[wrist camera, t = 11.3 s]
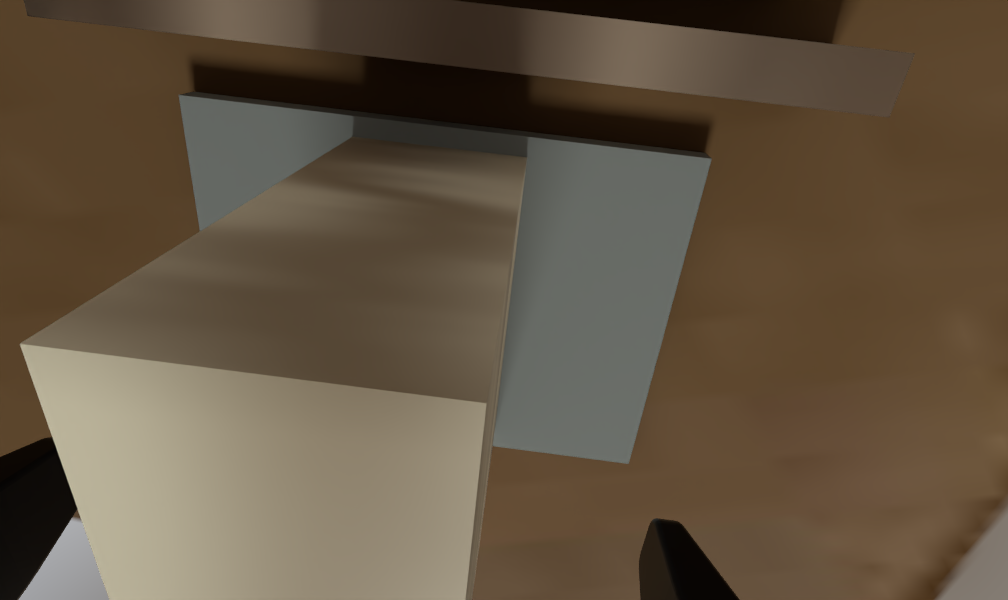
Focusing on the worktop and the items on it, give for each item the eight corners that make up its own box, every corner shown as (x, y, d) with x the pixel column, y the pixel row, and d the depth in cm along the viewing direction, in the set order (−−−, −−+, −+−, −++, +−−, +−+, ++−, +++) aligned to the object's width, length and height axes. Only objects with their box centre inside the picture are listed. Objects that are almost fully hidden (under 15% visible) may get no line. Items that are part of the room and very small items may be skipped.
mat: (238, 398, 17) (227, 411, 17) (193, 91, 13) (178, 95, 13) (626, 449, 17) (628, 463, 17) (705, 152, 13) (711, 158, 12)
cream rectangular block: (358, 414, 16) (176, 793, 8) (352, 136, 13) (20, 343, 5) (494, 431, 16) (440, 831, 8) (527, 157, 13) (486, 402, 5)
